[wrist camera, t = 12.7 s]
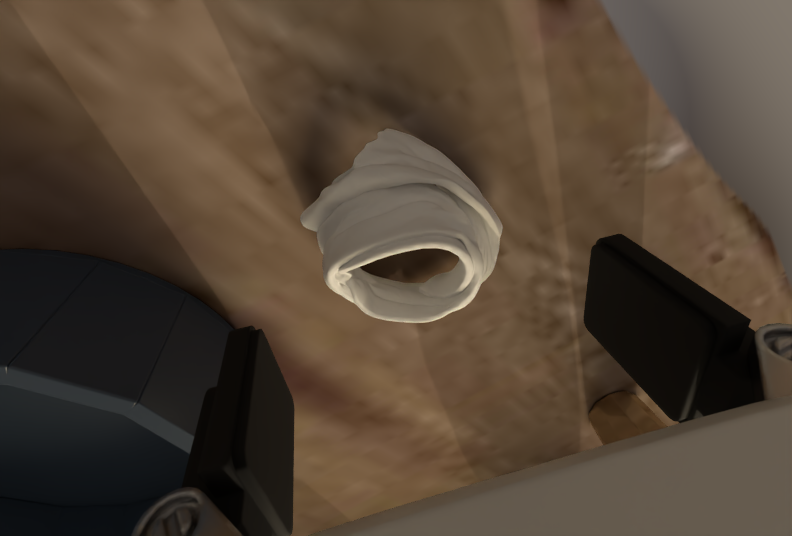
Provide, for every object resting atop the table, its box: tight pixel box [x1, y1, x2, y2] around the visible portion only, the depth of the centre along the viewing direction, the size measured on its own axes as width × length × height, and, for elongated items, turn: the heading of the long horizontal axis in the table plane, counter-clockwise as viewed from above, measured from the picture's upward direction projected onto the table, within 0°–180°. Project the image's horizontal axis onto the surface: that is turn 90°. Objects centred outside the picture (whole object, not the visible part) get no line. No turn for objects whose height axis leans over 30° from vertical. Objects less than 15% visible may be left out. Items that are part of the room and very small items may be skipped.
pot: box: [0, 249, 234, 536], centre depth 16 cm, size 16×16×6 cm
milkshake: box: [589, 391, 668, 445], centre depth 22 cm, size 4×5×10 cm
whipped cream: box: [300, 128, 503, 323], centre depth 15 cm, size 8×7×5 cm
